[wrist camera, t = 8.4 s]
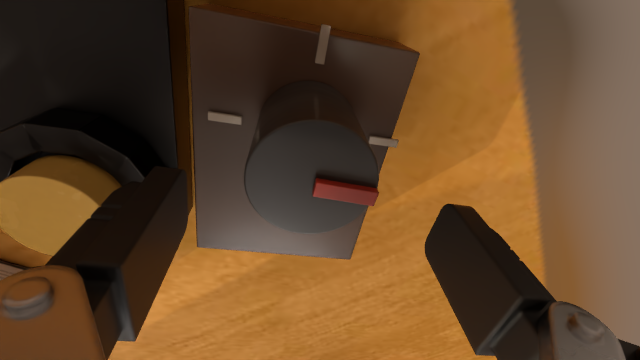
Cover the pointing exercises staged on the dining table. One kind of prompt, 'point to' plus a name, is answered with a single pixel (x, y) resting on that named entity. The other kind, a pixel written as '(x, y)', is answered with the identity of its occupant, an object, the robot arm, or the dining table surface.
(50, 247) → the button
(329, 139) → the dimmer knob
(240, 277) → the dining table surface
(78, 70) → the lamp base
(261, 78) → the dimmer panel
